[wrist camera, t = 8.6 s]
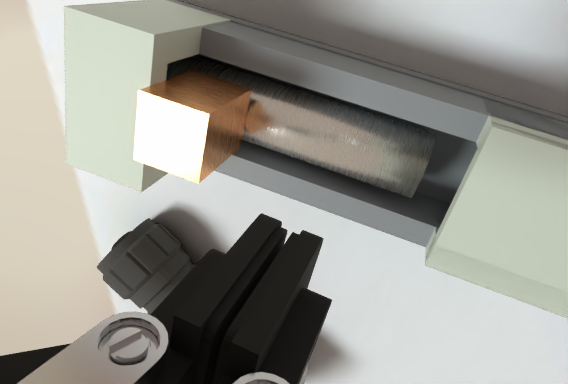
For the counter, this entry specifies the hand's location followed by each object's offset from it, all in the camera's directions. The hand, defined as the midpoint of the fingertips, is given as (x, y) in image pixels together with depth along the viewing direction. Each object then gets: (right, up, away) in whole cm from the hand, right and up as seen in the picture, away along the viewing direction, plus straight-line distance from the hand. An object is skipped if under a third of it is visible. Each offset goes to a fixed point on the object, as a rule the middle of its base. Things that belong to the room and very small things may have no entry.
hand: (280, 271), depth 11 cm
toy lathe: (+4, +6, +13) cm, 15 cm away
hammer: (+1, +6, +12) cm, 14 cm away
